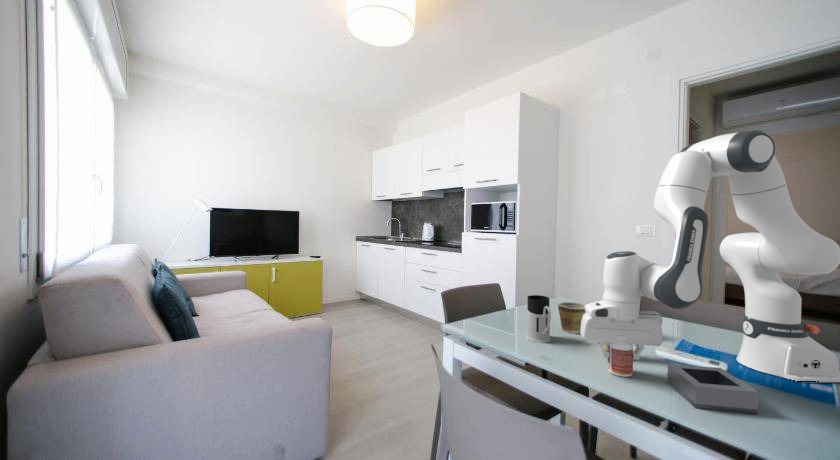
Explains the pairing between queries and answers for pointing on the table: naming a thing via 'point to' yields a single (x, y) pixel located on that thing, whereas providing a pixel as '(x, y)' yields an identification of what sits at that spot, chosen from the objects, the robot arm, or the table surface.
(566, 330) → the ceramic cup
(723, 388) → the metal socket
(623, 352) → the pill bottle
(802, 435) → the table surface
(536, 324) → the glass holder
